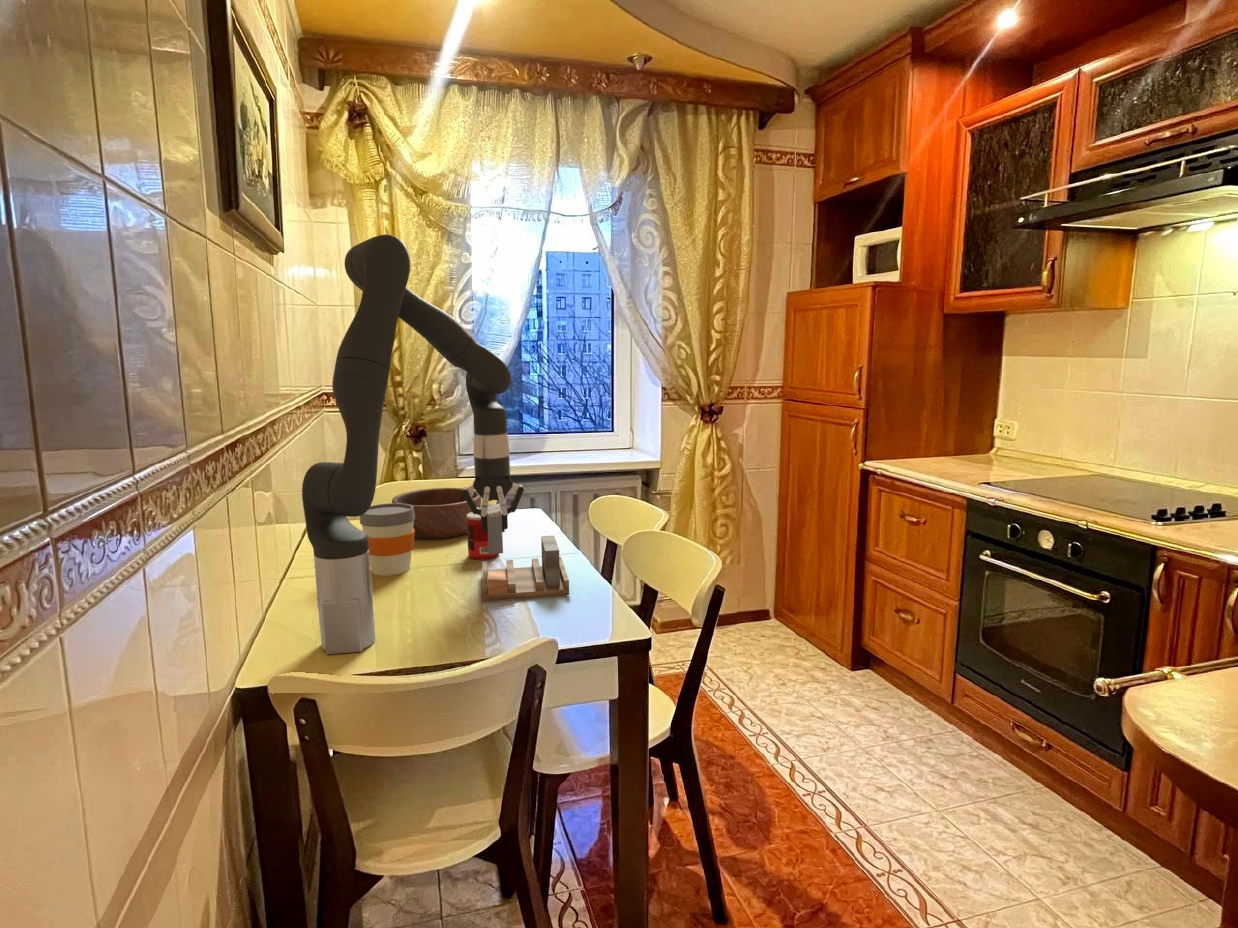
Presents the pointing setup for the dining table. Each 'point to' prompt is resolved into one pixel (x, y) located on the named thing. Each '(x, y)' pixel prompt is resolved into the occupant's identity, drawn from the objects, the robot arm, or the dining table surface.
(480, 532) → the canned food
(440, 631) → the dining table surface
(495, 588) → the rack
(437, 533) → the wooden bowl
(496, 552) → the panel
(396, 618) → the dining table surface
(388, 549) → the reusable coffee cup
